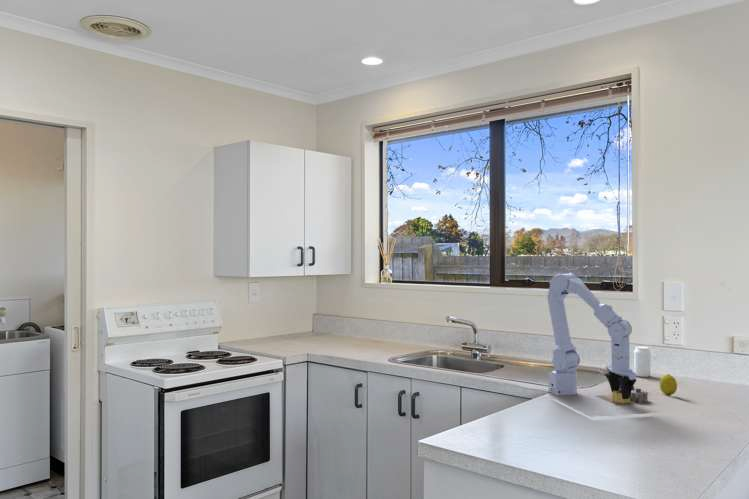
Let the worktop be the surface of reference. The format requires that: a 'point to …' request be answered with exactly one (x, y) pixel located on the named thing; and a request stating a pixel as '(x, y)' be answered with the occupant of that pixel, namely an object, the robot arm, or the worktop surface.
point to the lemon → (668, 385)
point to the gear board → (635, 397)
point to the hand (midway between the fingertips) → (620, 396)
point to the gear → (619, 397)
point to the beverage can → (642, 361)
